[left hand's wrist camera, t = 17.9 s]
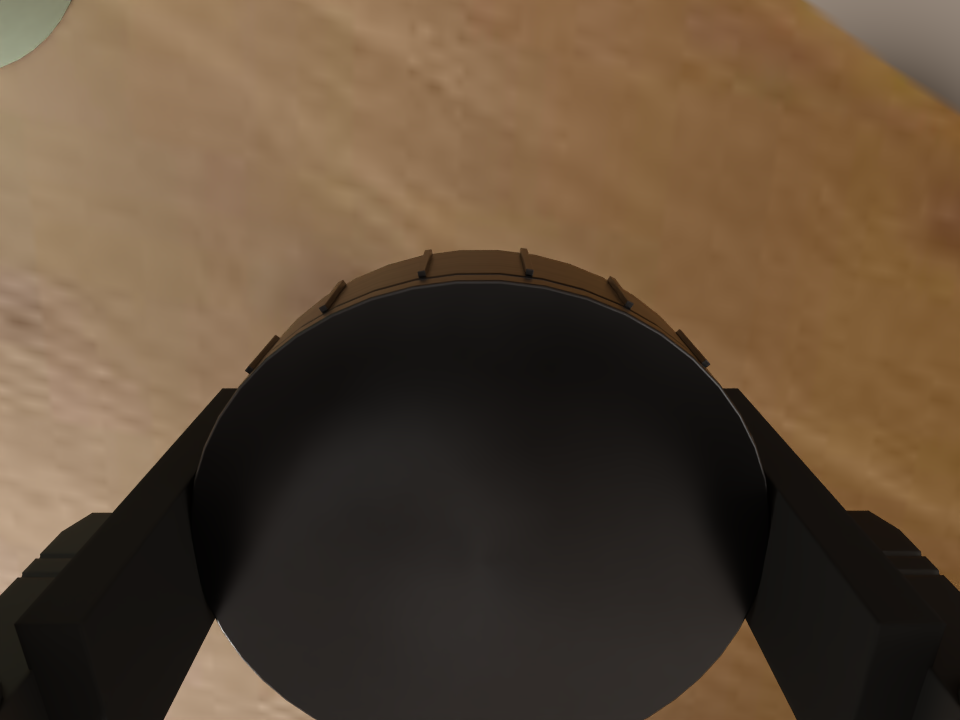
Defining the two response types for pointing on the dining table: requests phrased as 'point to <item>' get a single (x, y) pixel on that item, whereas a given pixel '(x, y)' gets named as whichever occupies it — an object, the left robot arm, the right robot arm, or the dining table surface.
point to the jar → (27, 25)
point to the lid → (480, 500)
